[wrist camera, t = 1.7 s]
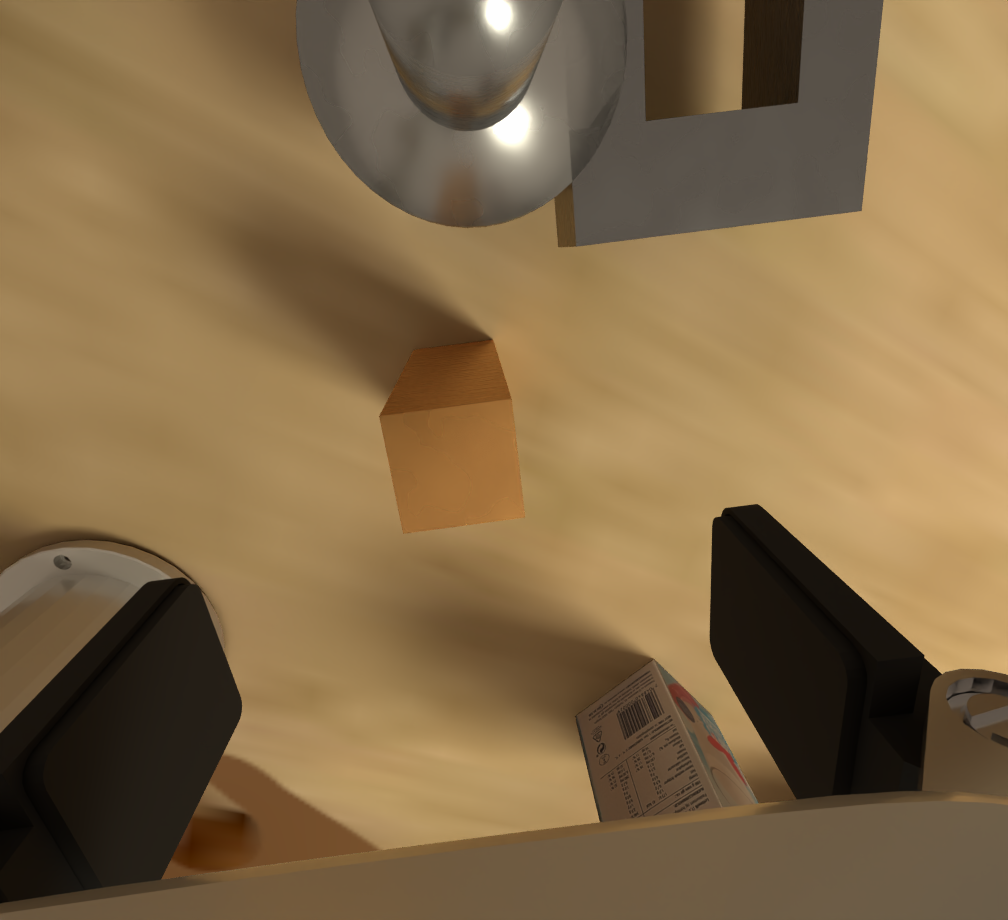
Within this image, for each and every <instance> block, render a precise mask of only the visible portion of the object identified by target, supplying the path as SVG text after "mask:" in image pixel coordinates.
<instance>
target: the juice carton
mask: <svg viewBox="0 0 1008 920" xmlns="http://www.w3.org/2000/svg"><path fill="white" fill-rule="evenodd" d="M575 717H576V723H577V727H578V731H579V735H580V740H581V744H582V748H583V752H584V757H585V761H586V765H587V769H588V773H589V778H590V782H591V786H592V790H593V795H594V799H595V803H596V807H597V811H598V816H599V820H600V822H607V821H615V820H623V819H631V818H640V817H648V816H656V815H664V814H672V813H680V812H688V811H696V810H704V809H712V808H722V807H731V806H740V805H750V804H759V803H758V801H757V799H756V797H755V796H754V794H753V792H752V790H751V788H750V786H749V784H748V782H747V780H746V779H745V777H744V775H743V773H742V771H741V769H740V767H739V765H738V764H737V762H736V760H735V758H734V756H733V754H732V752H731V750H730V748H729V747H728V745H727V743H726V741H725V739H724V737H723V735H722V733H721V732H720V730H719V728H718V726H717V724H716V722H715V720H714V718H713V716H712V715H711V714H710V713H709V712H708V711H707V710H706V709H705V708H704V707H703V706H702V705H701V704H700V703H699V702H698V701H697V700H696V699H695V698H694V697H693V696H691V695H690V694H689V693H688V692H687V691H686V690H685V689H684V688H683V687H682V686H681V685H680V684H679V683H678V682H677V681H676V680H675V679H674V678H673V677H672V676H671V675H670V674H669V673H668V672H667V671H666V670H665V669H664V668H663V667H662V666H661V665H660V664H659V663H658V662H656V661H655V660H654V659H653V660H652V661H651V662H649V663H648V664H647V665H645V666H644V667H642V668H641V669H640V670H638V671H637V672H636V673H634V674H633V675H631V676H630V677H629V678H627V679H626V680H625V681H623V682H622V683H621V684H619V685H618V686H616V687H615V688H614V689H612V690H611V691H610V692H608V693H607V694H605V695H604V696H603V697H601V698H600V699H599V700H597V701H596V702H594V703H593V704H592V705H590V706H589V707H588V708H586V709H585V710H583V711H582V712H581V713H579V714H578V715H577V716H575Z"/></svg>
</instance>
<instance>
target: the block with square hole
mask: <svg viewBox="0 0 1008 920" xmlns="http://www.w3.org/2000/svg"><path fill="white" fill-rule="evenodd" d="M882 9H883V0H745V19H744V50H743V82H742V110H734V111H726V112H717V113H709V114H701V115H693V116H684V117H676V118H668V119H659V120H651V121H646V115H645V69H644V23H643V0H297V6H296V32H297V46H298V53H299V59H300V66H301V70H302V74H303V78H304V82H305V86H306V89H307V93H308V96H309V98H310V101H311V103H312V106H313V109H314V111H315V114H316V116H317V118H318V120H319V122H320V124H321V126H322V128H323V130H324V132H325V134H326V136H327V138H328V139H329V141H330V142H331V144H332V145H333V147H334V148H335V150H336V151H337V153H338V154H339V156H340V157H341V158H342V160H343V161H344V162H345V163H346V164H347V165H348V167H349V168H350V169H351V170H352V171H353V172H354V174H355V175H356V176H357V177H358V178H359V179H360V180H361V181H363V182H364V183H365V184H366V185H367V186H368V187H369V188H370V189H371V190H372V191H374V192H375V193H376V194H378V195H379V196H381V197H382V198H383V199H385V200H386V201H388V202H389V203H390V204H392V205H394V206H395V207H397V208H399V209H401V210H403V211H405V212H406V213H408V214H410V215H412V216H415V217H418V218H420V219H423V220H426V221H428V222H432V223H436V224H440V225H445V226H451V227H462V228H474V227H487V226H492V225H497V224H502V223H506V222H509V221H511V220H514V219H517V218H520V217H522V216H524V215H526V214H528V213H530V212H532V211H534V210H536V209H538V208H540V207H541V206H543V205H544V204H546V203H547V202H548V201H550V200H551V199H553V198H555V211H556V224H557V237H558V247H574V246H584V245H592V244H600V243H608V242H616V241H624V240H632V239H640V238H648V237H656V236H664V235H672V234H680V233H688V232H696V231H704V230H712V229H720V228H728V227H736V226H744V225H752V224H760V223H768V222H776V221H784V220H792V219H800V218H808V217H816V216H824V215H832V214H841V213H849V212H857V211H862V202H863V192H864V182H865V173H866V163H867V153H868V144H869V134H870V125H871V115H872V105H873V96H874V86H875V76H876V67H877V57H878V47H879V38H880V28H881V18H882Z"/></svg>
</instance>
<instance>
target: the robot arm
mask: <svg viewBox="0 0 1008 920" xmlns="http://www.w3.org/2000/svg"><path fill="white" fill-rule="evenodd" d="M710 644H711V649H712V652H713V655H714V657H715V660H716V661H717V663H718V665H719V666H720V668H721V670H722V672H723V673H724V675H725V677H726V679H727V680H728V682H729V684H730V685H731V687H732V689H733V691H734V692H735V694H736V696H737V697H738V699H739V701H740V703H741V704H742V706H743V708H744V709H745V711H746V713H747V715H748V716H749V718H750V720H751V721H752V723H753V725H754V727H755V728H756V730H757V732H758V734H759V735H760V737H761V739H762V740H763V742H764V744H765V746H766V747H767V749H768V751H769V752H770V754H771V756H772V758H773V759H774V761H775V763H776V764H777V766H778V768H779V770H780V771H781V773H782V775H783V776H784V778H785V780H786V782H787V783H788V785H789V787H790V788H791V790H792V792H793V794H794V795H795V797H796V799H797V800H788V801H778V802H769V803H759V804H750V805H740V806H731V807H722V808H712V809H704V810H696V811H688V812H680V813H672V814H664V815H656V816H648V817H640V818H631V819H623V820H615V821H607V822H599V823H591V824H583V825H575V826H567V827H559V828H551V829H543V830H534V831H526V832H519V833H511V834H503V835H495V836H487V837H480V838H472V839H464V840H456V841H449V842H441V843H433V844H425V845H418V846H410V847H402V848H395V849H387V850H379V851H372V852H364V853H356V854H349V855H342V856H333V857H326V858H318V859H311V860H303V861H296V862H288V863H281V864H273V865H267V866H258V867H251V868H244V869H236V870H229V871H222V872H214V873H207V874H200V875H193V876H185V877H178V878H171V879H163V880H161V878H162V876H163V874H164V872H165V870H166V868H167V866H168V864H169V862H170V860H171V858H172V856H173V854H174V852H175V850H176V848H177V846H178V844H179V842H180V840H181V838H182V836H183V834H184V832H185V830H186V828H187V826H188V824H189V822H190V820H191V818H192V815H193V813H194V811H195V809H196V807H197V805H198V803H199V801H200V799H201V797H202V795H203V793H204V791H205V789H206V787H207V785H208V783H209V781H210V779H211V777H212V775H213V773H214V771H215V769H216V767H217V765H218V762H219V760H220V759H221V757H222V755H223V753H224V750H225V748H226V746H227V744H228V742H229V740H230V738H231V736H232V734H233V732H234V730H235V728H236V726H237V724H238V722H239V720H240V717H241V712H242V701H241V697H240V694H239V691H238V689H237V686H236V683H235V681H234V678H233V675H232V672H231V670H230V667H229V664H228V662H227V659H226V656H225V654H224V648H225V646H224V638H223V630H222V627H221V624H220V622H219V619H218V616H217V613H216V612H215V610H214V608H213V607H212V605H211V603H210V602H209V600H208V598H207V597H206V596H205V595H204V593H203V592H202V591H201V590H200V588H199V587H198V586H197V585H196V584H195V583H194V582H193V581H192V580H191V579H189V578H188V577H187V576H185V575H184V574H183V573H182V572H180V571H179V570H178V569H177V568H175V567H174V566H172V565H170V564H169V563H167V562H165V561H163V560H162V559H160V558H158V557H156V556H155V555H152V554H150V553H147V552H144V551H142V550H139V549H137V548H134V547H131V546H126V545H122V544H118V543H113V542H109V541H95V540H77V541H66V542H60V543H56V544H53V545H49V546H45V547H42V548H40V549H38V550H36V551H34V552H32V553H30V554H28V555H26V556H24V557H22V558H21V559H19V560H18V561H17V562H15V563H14V564H13V565H11V566H10V567H8V568H7V569H5V570H4V571H3V572H2V573H1V574H0V920H1008V675H1006V674H1002V673H997V672H992V671H987V670H982V669H958V670H954V671H949V672H945V673H944V674H941V673H940V672H939V671H938V670H937V669H936V668H935V667H934V666H932V665H931V664H930V663H929V662H928V661H927V660H926V659H925V658H924V655H923V654H922V653H921V652H920V651H919V650H918V649H917V648H916V647H915V646H914V645H913V644H911V643H910V642H909V641H908V640H907V639H906V638H905V637H904V636H903V635H902V634H900V633H899V632H898V631H897V630H896V629H895V628H894V627H893V626H892V625H891V624H889V623H888V622H887V621H886V620H885V619H884V618H883V617H882V616H881V615H880V614H879V613H877V612H876V611H875V610H874V609H873V608H872V607H871V606H870V605H869V604H868V603H866V602H865V601H864V600H863V599H862V598H861V597H860V596H859V595H858V594H857V593H856V592H854V591H853V590H852V589H851V588H850V587H849V586H848V585H847V584H846V583H845V582H843V581H842V580H841V579H840V578H839V577H838V576H837V575H836V574H835V573H834V572H832V571H831V570H830V569H829V568H828V567H827V566H826V565H825V564H824V563H823V562H822V561H820V560H819V559H818V558H817V557H816V556H815V555H814V554H813V553H812V552H811V551H809V550H808V549H807V548H806V547H805V546H804V545H803V544H802V543H801V542H800V541H799V540H797V539H796V538H795V537H794V536H793V535H792V534H791V533H790V532H789V531H788V530H786V529H785V528H784V527H783V526H782V525H781V524H780V523H779V522H778V521H777V520H775V519H774V518H773V517H772V516H771V515H770V514H769V513H768V512H767V511H766V510H765V509H763V508H762V507H761V506H760V505H758V504H754V505H746V506H738V507H731V508H725V509H724V510H723V512H722V515H721V517H715V518H714V520H713V525H712V562H711V604H710Z"/></svg>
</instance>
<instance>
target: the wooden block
mask: <svg viewBox="0 0 1008 920" xmlns="http://www.w3.org/2000/svg"><path fill="white" fill-rule="evenodd" d="M379 417H380V422H381V427H382V432H383V437H384V442H385V447H386V451H387V456H388V461H389V466H390V471H391V476H392V481H393V486H394V491H395V496H396V500H397V505H398V510H399V515H400V520H401V525H402V530H403V534H404V533H412V532H419V531H427V530H434V529H442V528H449V527H457V526H464V525H472V524H479V523H486V522H494V521H501V520H509V519H516V518H524V517H525V512H524V504H523V495H522V486H521V477H520V469H519V460H518V451H517V442H516V434H515V425H514V416H513V407H512V399H511V396H510V392H509V389H508V386H507V383H506V380H505V376H504V373H503V370H502V367H501V363H500V360H499V357H498V354H497V351H496V347H495V344H494V341H493V340H486V341H479V342H471V343H463V344H455V345H447V346H439V347H432V348H424V349H416V350H413V352H412V354H411V356H410V358H409V360H408V362H407V364H406V366H405V368H404V370H403V372H402V373H401V375H400V377H399V379H398V381H397V383H396V385H395V387H394V389H393V391H392V393H391V395H390V397H389V398H388V400H387V402H386V404H385V406H384V408H383V410H382V412H381V414H380V416H379Z"/></svg>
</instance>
